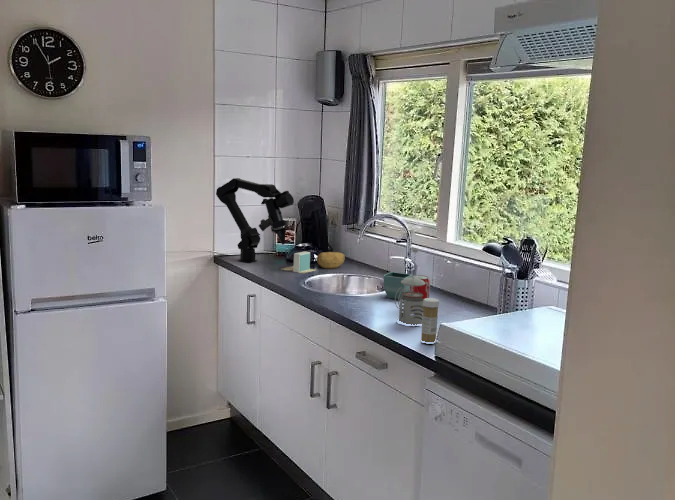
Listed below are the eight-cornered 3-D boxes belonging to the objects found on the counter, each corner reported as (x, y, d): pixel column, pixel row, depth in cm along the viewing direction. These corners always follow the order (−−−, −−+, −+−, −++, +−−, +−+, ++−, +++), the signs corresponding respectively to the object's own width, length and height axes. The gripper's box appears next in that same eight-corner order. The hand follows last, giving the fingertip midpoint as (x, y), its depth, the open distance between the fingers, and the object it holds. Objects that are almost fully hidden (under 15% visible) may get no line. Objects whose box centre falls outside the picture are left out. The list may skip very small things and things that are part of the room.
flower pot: (389, 293, 246) (391, 271, 244) (411, 297, 242) (412, 274, 240) (381, 298, 238) (382, 275, 236) (403, 301, 234) (404, 278, 232)
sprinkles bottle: (431, 340, 189) (434, 297, 187) (438, 345, 185) (441, 300, 183) (417, 341, 188) (420, 297, 186) (424, 346, 184) (428, 301, 181)
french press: (431, 324, 206) (437, 249, 202) (404, 329, 199) (410, 252, 195) (411, 317, 214) (416, 245, 209) (385, 321, 207) (389, 247, 203)
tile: (293, 271, 274) (294, 253, 273) (304, 268, 281) (304, 251, 279) (299, 272, 272) (299, 254, 271) (309, 269, 279) (310, 252, 278)
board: (279, 270, 278) (279, 269, 278) (293, 267, 287) (293, 265, 286) (303, 275, 271) (303, 273, 271) (316, 271, 280) (316, 270, 280)
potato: (349, 269, 287) (350, 252, 286) (323, 272, 280) (324, 254, 278) (337, 265, 295) (338, 249, 294) (312, 268, 288) (312, 250, 286)
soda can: (423, 313, 219) (425, 279, 217) (405, 309, 223) (407, 276, 221) (431, 309, 225) (433, 276, 223) (413, 305, 229) (415, 273, 227)
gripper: (256, 218, 293) (265, 250, 292) (257, 213, 274) (266, 247, 274) (279, 211, 294) (288, 243, 294) (281, 207, 276) (291, 241, 276)
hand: (283, 244), depth 284 cm, fingers closed
